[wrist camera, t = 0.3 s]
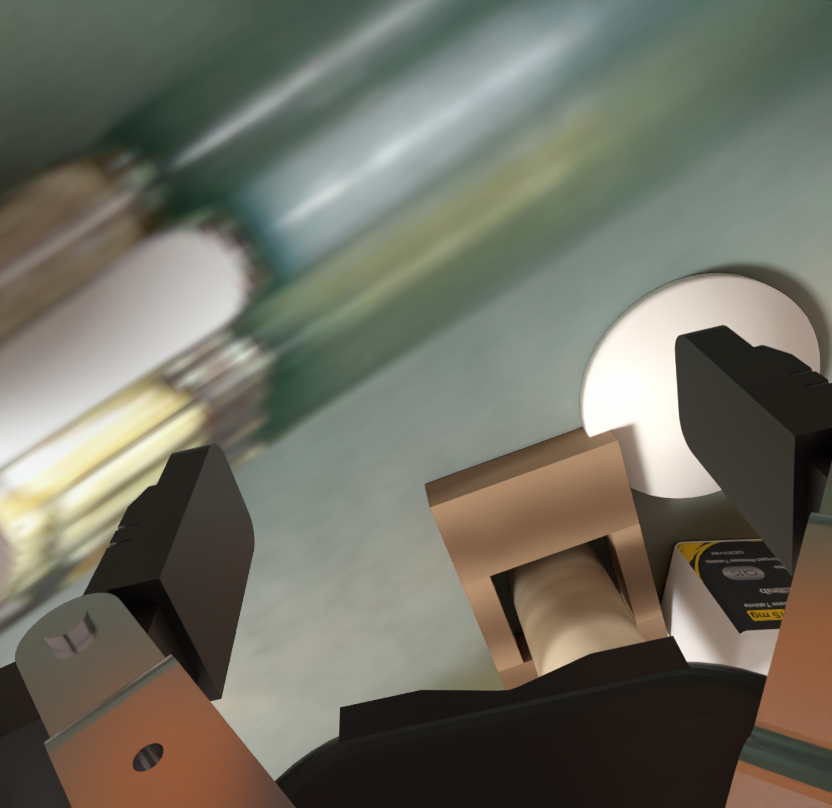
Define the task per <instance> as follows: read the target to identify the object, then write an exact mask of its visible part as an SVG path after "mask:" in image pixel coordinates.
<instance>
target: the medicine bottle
mask: <svg viewBox="0 0 832 808" xmlns="http://www.w3.org/2000/svg"><path fill="white" fill-rule="evenodd" d="M792 580H793V576H791V575H790V574H789V573H788V571H787V570H786V569H785V568H784V566H783V565H782V564H781V563H780V561H779V560H778V559H777V558H776V557H775V555H774V554H773V553H772V552H771V550H770V549H769V548H768V547H767V545H766V544H765V543H764V542H763V540H762V539H743V540H716V541H688V542H678V543H677V544H676V545H675V547H674V550H673V555H672V559H671V563H670V568H669V572H668V576H667V581H666V585H665V589H664V594H663V598H662V602H661V606H660V607H661V611H662V615H663V619H664V623H665V627H666V631H667V635H668V637H669V636H674V638H675V640H676V642H677V644H678V646H679V648H680V650H681V652H682V653H683V655H684V657H685V659H686V661H687V662H706V663H715V664H723V665H728V666H733V667H738V668H743V669H746V670H750V671H753V672H756V673H760V674H763V675H766V676H768V672H769V668H770V664H771V660H772V657H773V653H774V649H775V645H776V641H777V638H778V634H779V630H780V626H781V622H782V618H783V615H784V611H785V607H786V603H787V599H788V595H789V592H790V588H791V584H792Z"/></svg>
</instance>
